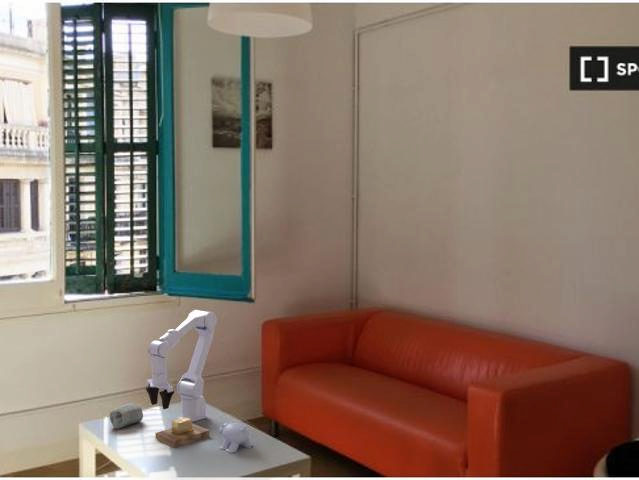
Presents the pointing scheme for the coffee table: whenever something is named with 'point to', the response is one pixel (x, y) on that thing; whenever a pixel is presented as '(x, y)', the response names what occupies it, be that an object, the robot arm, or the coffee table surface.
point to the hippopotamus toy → (234, 436)
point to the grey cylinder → (126, 415)
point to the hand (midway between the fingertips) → (160, 406)
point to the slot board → (182, 436)
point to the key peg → (182, 426)
